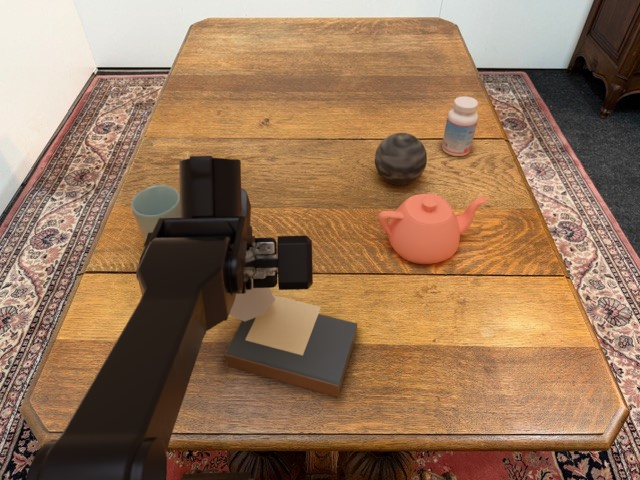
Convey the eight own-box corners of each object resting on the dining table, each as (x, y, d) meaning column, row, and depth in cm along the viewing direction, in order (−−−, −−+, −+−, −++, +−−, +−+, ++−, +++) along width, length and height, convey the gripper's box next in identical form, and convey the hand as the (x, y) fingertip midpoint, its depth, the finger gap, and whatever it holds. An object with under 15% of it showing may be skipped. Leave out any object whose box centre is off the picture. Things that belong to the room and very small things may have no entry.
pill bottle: (470, 158, 99) (482, 111, 91) (440, 155, 100) (450, 107, 92) (470, 143, 104) (481, 95, 96) (441, 139, 105) (451, 93, 97)
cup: (171, 222, 87) (157, 178, 80) (201, 239, 84) (190, 195, 76) (138, 247, 82) (120, 203, 75) (168, 266, 79) (152, 222, 72)
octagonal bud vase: (212, 300, 67) (198, 250, 60) (252, 273, 70) (244, 223, 63) (243, 330, 63) (232, 281, 56) (284, 300, 67) (279, 251, 60)
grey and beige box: (338, 397, 62) (338, 385, 60) (227, 366, 66) (224, 354, 64) (358, 328, 70) (359, 316, 68) (258, 303, 73) (256, 291, 71)
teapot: (369, 222, 86) (372, 181, 79) (465, 214, 87) (476, 173, 80) (382, 272, 77) (387, 231, 71) (488, 263, 79) (503, 221, 72)
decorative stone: (426, 169, 97) (434, 127, 90) (418, 199, 90) (426, 156, 83) (378, 161, 99) (382, 119, 92) (367, 190, 93) (371, 147, 85)
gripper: (309, 184, 48) (311, 199, 63) (124, 189, 48) (172, 202, 63) (312, 295, 47) (313, 282, 63) (126, 299, 47) (174, 286, 63)
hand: (243, 261), depth 63 cm, fingers closed on octagonal bud vase, 3 cm apart
